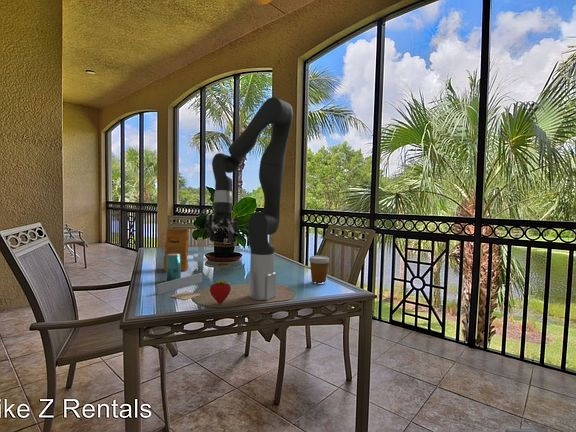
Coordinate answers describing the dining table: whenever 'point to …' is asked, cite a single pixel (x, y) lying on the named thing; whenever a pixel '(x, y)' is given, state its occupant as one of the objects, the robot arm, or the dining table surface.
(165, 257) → the coffee package
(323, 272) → the glass of beer
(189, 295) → the coaster
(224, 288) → the strawberry
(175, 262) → the can
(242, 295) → the dining table surface
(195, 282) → the acrylic wall
